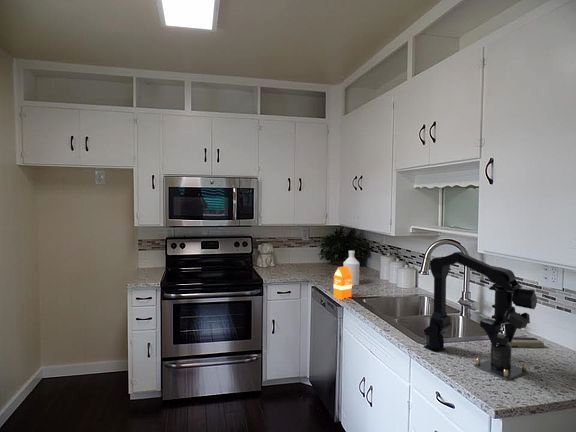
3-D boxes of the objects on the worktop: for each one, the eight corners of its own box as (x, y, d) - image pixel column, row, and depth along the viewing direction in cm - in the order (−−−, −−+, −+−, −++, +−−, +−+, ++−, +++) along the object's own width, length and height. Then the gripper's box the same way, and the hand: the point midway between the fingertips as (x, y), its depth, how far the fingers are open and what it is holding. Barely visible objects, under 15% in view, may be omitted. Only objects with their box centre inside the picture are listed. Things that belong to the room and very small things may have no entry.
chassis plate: (474, 366, 148) (474, 357, 148) (495, 359, 154) (495, 351, 154) (506, 380, 137) (506, 371, 137) (528, 373, 143) (528, 364, 143)
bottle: (359, 286, 280) (359, 252, 279) (342, 285, 282) (343, 251, 281) (359, 282, 292) (359, 250, 291) (343, 282, 294) (343, 249, 293)
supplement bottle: (515, 371, 142) (516, 339, 142) (497, 371, 142) (498, 339, 141) (503, 363, 149) (504, 333, 149) (486, 363, 149) (487, 333, 148)
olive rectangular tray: (532, 342, 175) (533, 334, 175) (544, 349, 167) (544, 341, 167) (497, 341, 175) (498, 334, 175) (507, 348, 167) (507, 341, 167)
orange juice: (333, 296, 250) (333, 266, 249) (342, 294, 256) (343, 265, 255) (341, 299, 244) (342, 268, 243) (351, 297, 249) (352, 266, 248)
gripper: (508, 312, 133) (507, 356, 133) (540, 305, 141) (538, 347, 142) (479, 304, 143) (478, 345, 143) (510, 298, 151) (509, 337, 152)
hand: (502, 344), depth 145 cm, fingers open, 9 cm apart
